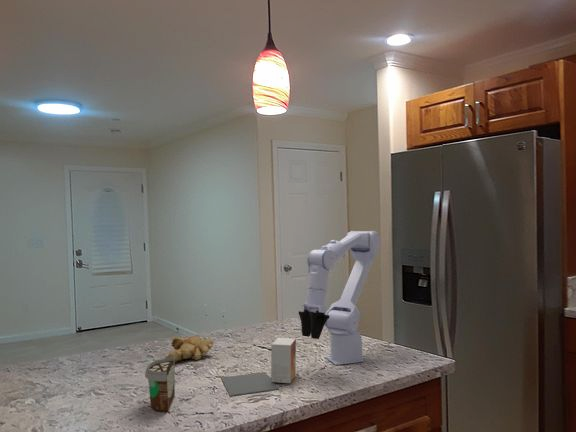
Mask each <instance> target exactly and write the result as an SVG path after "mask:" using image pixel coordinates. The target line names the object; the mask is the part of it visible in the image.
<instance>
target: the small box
mask: <svg viewBox="0 0 576 432" xmlns="http://www.w3.org/2000/svg"><path fill="white" fill-rule="evenodd" d="M270 346H271V349H270V350H271V352H270V353H271V356H270V357H271V359H270V365H271V366H270V371H271V372H270V378H271V382H274V383H278V384H279V383H281V384H291V383H292V381H293V379H294V378H295V376H296V369H297V367H296V362H297V361H296V357H297V356H296V354H297V353H296V352H297V351H296V350H297V339H296V338H293V337H290V338H289V337H277V338H276V339H275V340H274V341H273V342H272V343H271V345H270Z"/></svg>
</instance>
